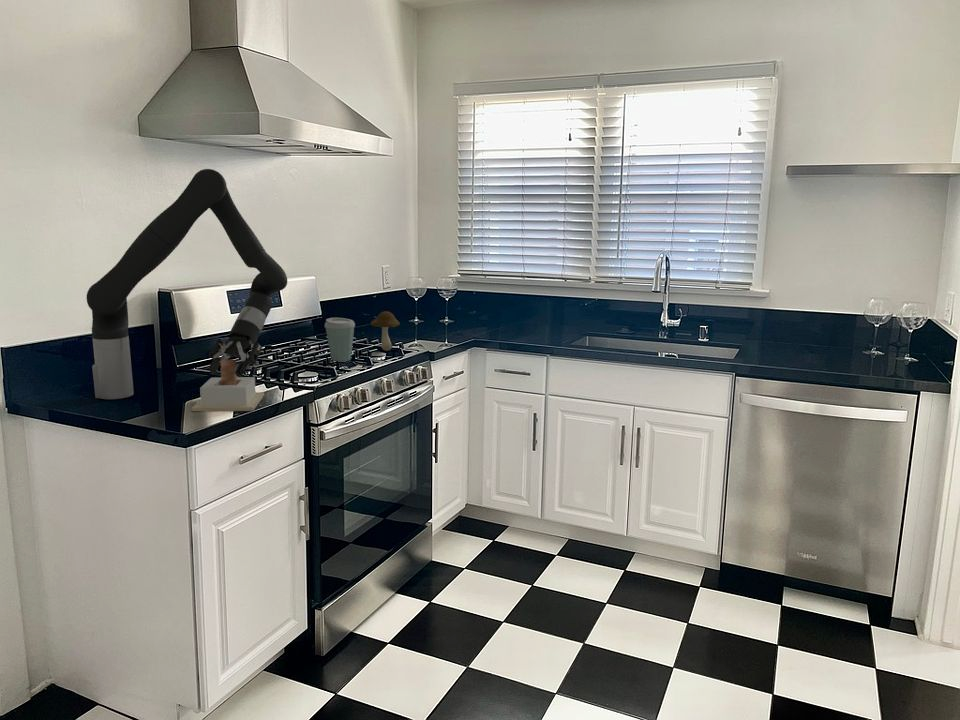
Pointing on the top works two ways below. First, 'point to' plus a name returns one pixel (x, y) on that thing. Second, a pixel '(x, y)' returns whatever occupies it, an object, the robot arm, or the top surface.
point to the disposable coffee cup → (340, 338)
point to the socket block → (228, 396)
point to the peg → (228, 372)
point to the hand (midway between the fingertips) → (224, 373)
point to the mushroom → (385, 327)
